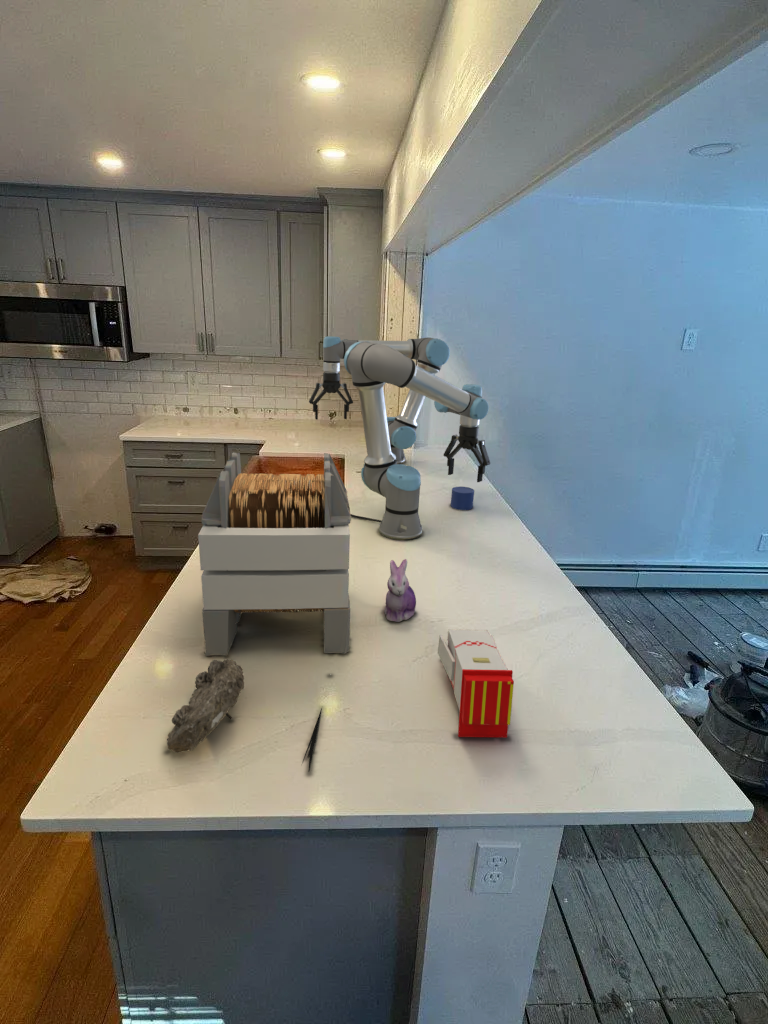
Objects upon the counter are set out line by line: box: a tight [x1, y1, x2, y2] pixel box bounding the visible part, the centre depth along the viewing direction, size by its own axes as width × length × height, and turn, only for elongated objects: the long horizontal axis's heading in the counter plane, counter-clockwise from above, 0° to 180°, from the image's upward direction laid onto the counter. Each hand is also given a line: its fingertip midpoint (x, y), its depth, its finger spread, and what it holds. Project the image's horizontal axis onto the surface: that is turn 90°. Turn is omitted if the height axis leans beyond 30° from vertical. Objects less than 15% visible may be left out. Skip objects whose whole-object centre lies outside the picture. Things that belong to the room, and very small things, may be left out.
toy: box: [437, 628, 515, 738], centre depth 117 cm, size 12×13×30 cm
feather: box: [301, 673, 332, 771], centre depth 108 cm, size 2×28×2 cm
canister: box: [450, 486, 475, 511], centre depth 230 cm, size 9×9×7 cm
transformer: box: [197, 451, 352, 657], centre depth 136 cm, size 34×33×41 cm
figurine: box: [384, 558, 417, 623], centre depth 145 cm, size 9×10×15 cm
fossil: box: [166, 658, 245, 754], centre depth 106 cm, size 22×10×15 cm
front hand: (464, 478), depth 227 cm, fingers open, 13 cm apart
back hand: (330, 418), depth 264 cm, fingers open, 13 cm apart
